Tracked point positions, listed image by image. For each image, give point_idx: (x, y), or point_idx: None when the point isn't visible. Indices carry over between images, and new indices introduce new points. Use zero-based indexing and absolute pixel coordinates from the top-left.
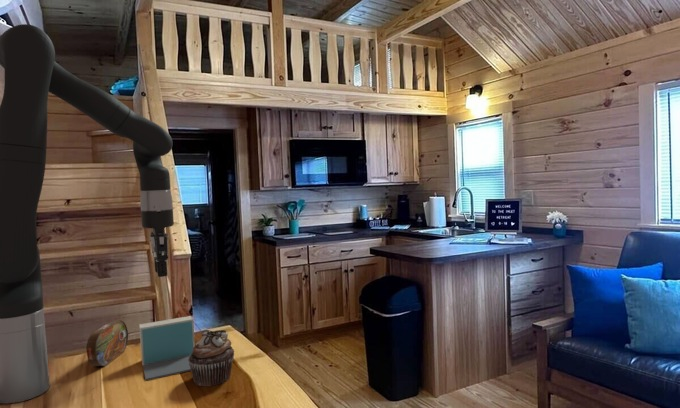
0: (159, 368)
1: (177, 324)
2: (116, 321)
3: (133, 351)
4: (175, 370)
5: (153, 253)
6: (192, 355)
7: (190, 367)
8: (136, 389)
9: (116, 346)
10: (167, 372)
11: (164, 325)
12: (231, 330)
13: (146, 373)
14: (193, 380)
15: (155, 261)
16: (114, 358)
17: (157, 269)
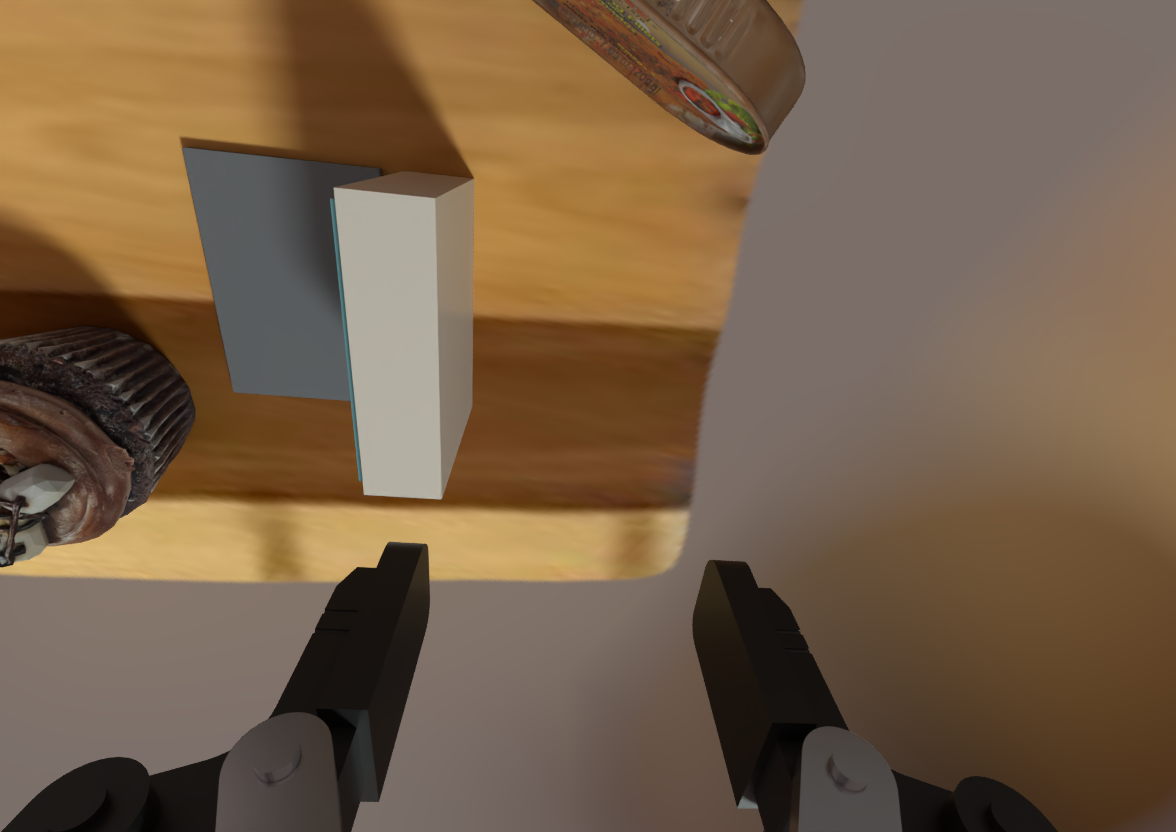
0: (291, 232)
1: (353, 408)
2: (719, 59)
3: (642, 164)
4: (234, 289)
5: (886, 814)
6: (20, 372)
7: (20, 337)
8: (93, 85)
9: (640, 60)
10: (224, 254)
11: (351, 341)
12: (613, 575)
13: (253, 164)
14: (87, 327)
15: (755, 683)
16: (585, 42)
17: (359, 608)
